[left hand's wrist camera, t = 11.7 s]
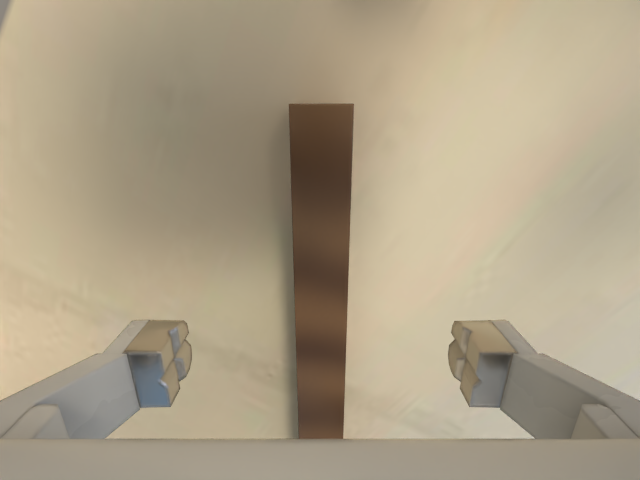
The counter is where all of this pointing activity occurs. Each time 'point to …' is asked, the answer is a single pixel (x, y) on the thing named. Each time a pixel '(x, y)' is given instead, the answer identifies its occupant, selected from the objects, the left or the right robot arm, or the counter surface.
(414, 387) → the counter surface
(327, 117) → the beam
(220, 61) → the counter surface
